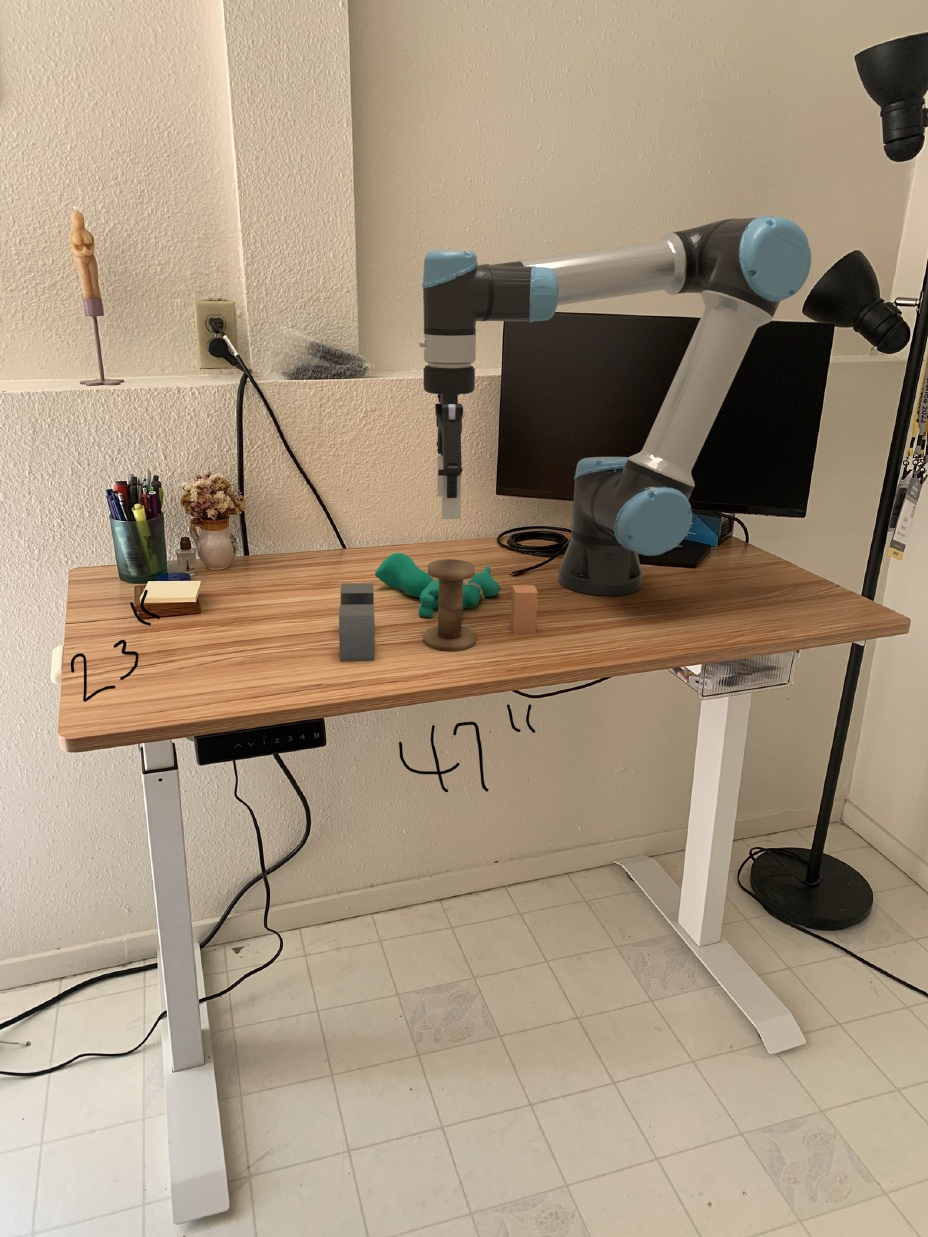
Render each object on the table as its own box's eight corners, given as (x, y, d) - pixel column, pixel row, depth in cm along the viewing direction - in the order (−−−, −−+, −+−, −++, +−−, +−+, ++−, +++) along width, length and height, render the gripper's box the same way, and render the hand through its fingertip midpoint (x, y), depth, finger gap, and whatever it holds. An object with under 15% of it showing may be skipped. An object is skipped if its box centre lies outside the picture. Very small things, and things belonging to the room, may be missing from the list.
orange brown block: (531, 626, 149) (534, 585, 146) (535, 634, 146) (537, 592, 143) (510, 626, 148) (512, 585, 146) (513, 634, 145) (515, 592, 143)
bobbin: (472, 630, 146) (475, 558, 142) (478, 650, 139) (481, 574, 134) (421, 631, 145) (422, 558, 141) (425, 651, 138) (426, 575, 134)
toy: (487, 599, 147) (509, 559, 165) (357, 575, 150) (392, 538, 168) (482, 638, 150) (504, 595, 168) (354, 613, 153) (389, 573, 171)
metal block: (373, 624, 147) (373, 583, 145) (374, 660, 134) (374, 615, 132) (342, 625, 147) (341, 583, 144) (339, 660, 134) (338, 615, 131)
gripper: (420, 355, 146) (421, 487, 154) (426, 374, 123) (427, 529, 131) (468, 355, 147) (466, 487, 154) (483, 374, 123) (480, 528, 131)
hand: (448, 506), depth 143 cm, fingers open, 13 cm apart
